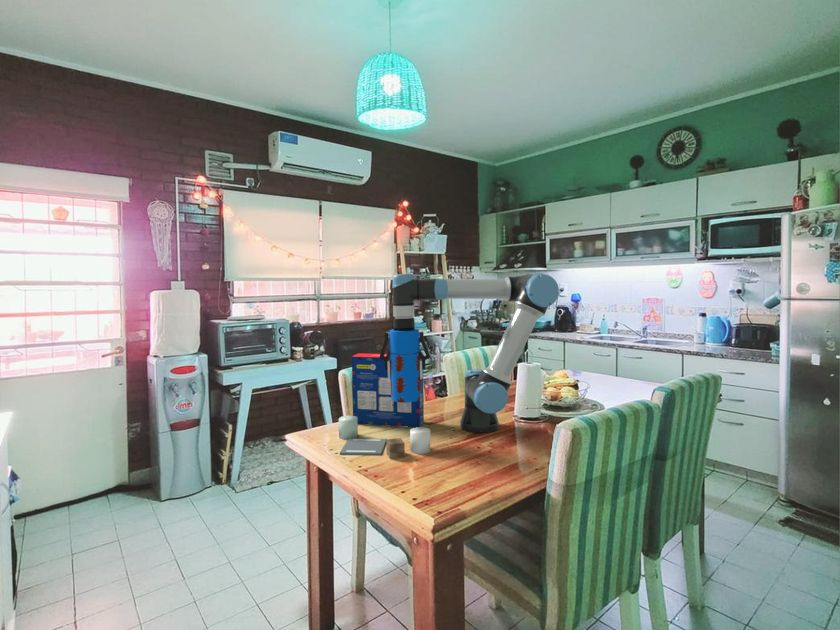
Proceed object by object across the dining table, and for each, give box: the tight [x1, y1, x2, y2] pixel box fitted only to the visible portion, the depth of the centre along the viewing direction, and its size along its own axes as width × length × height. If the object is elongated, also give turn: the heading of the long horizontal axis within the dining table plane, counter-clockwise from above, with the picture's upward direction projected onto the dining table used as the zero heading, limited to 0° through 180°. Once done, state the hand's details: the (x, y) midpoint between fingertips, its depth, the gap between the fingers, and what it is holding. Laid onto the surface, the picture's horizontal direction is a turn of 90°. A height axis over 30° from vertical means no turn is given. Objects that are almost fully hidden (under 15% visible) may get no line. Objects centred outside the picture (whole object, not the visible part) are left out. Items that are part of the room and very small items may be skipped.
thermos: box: [388, 328, 421, 403], centre depth 164 cm, size 11×11×25 cm
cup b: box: [338, 415, 359, 441], centre depth 171 cm, size 7×7×7 cm
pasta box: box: [351, 353, 425, 428], centre depth 187 cm, size 28×8×28 cm, turn 78°
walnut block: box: [385, 437, 406, 460], centre depth 152 cm, size 5×5×5 cm
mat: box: [339, 438, 387, 456], centre depth 160 cm, size 14×14×1 cm
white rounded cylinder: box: [409, 426, 431, 455], centre depth 157 cm, size 7×7×7 cm
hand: (405, 378), depth 164 cm, fingers closed on thermos, 11 cm apart
